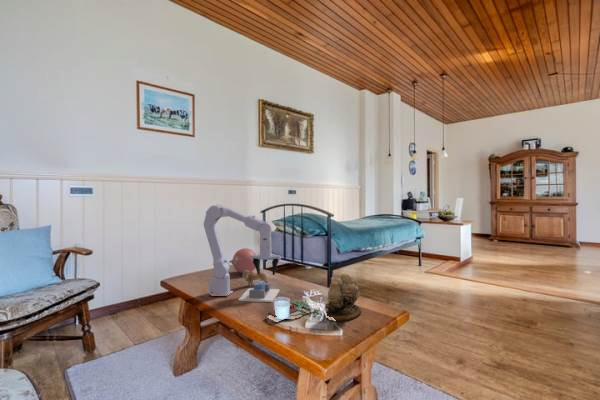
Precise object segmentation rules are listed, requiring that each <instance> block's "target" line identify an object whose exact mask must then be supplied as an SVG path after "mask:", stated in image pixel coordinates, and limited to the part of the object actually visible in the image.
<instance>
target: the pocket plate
mask: <svg viewBox="0 0 600 400" xmlns="http://www.w3.org/2000/svg"><path fill="white" fill-rule="evenodd" d="M270 287H271V285H270V283H267V284H266V285H265V290H261V291H253V289H254V287H253V288H252V287H249V288H247V290H246V291H245V292H244V293H243V294H242V295H241V296H240V297H239V298H238V302H253V303H256V302H257V303H273V302H274V301H275V299H276V297H277V295H279V293H280V288H279V289H278V288H270ZM274 298H275V299H274ZM273 300H274V301H273Z"/></svg>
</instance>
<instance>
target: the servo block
mask: <svg viewBox="0 0 600 400" xmlns="http://www.w3.org/2000/svg"><path fill="white" fill-rule="evenodd" d="M265 285H266V283H265V281H263V280H262V281H260V280H256V282H255V283H254V285H253V286H254V287H253V288H254V289H253V291H261V290H265Z"/></svg>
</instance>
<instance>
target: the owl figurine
mask: <svg viewBox="0 0 600 400" xmlns="http://www.w3.org/2000/svg"><path fill="white" fill-rule="evenodd" d="M340 280H341V282H342V285H341V283H339V282H338V281H332V282H331V283H330V284H329V289H328V291H327V302H328V303H325V305H324V308H325V309H326V311H325V312H326V313H327V316H329V317H333V318H334V319H335V320H336V322H335V323H344V322H349V321H352V320H355V319H357V318H358V317H360V316H361V314H362V310H361V308H360V307H359V306H357V305H356V304H355V303H356V302H357V300H358V299H359V297H360V296H361V295H360V293H359V292H358V291H359V287H358V280H357V279H356V277H355V276H353V275H350V274H349V273H345V272H343V273H341V274H340Z"/></svg>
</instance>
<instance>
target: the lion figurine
mask: <svg viewBox="0 0 600 400" xmlns="http://www.w3.org/2000/svg"><path fill="white" fill-rule="evenodd" d="M242 278H243V280H245V281H246V282H248V284H247V286H248V287H249V288H252V287H253V286H254V285H253V284H254V283H253V282H254V281H258V280H259V281H265V283H266V284H268V283H269V281H268V280H267V277H266V274H265V273H264V272H262V271H260V274H259V275H258V274H257V272H256V273H254V272H253V271H252V272H250V271H248V270H245V271H244V272H243V273H242ZM249 285H250V286H249Z"/></svg>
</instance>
